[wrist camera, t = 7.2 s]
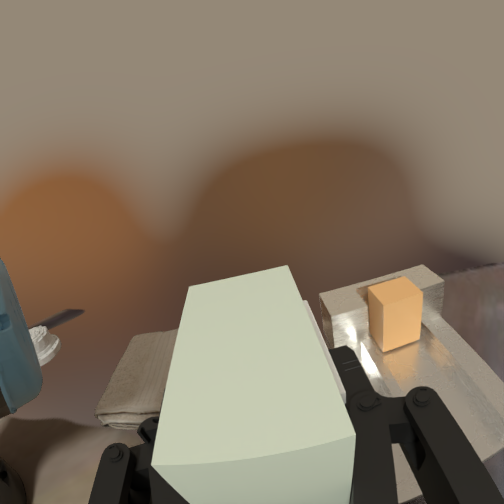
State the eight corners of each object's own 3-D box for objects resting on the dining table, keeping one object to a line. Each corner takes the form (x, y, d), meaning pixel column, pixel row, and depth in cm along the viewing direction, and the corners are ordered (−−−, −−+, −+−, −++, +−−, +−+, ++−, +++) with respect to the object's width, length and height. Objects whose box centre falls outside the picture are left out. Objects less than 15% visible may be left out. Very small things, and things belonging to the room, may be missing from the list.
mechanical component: (58, 334, 51) (21, 354, 45) (49, 315, 49) (10, 336, 44) (65, 354, 44) (22, 378, 38) (54, 333, 42) (9, 357, 36)
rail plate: (397, 507, 14) (411, 478, 12) (324, 333, 37) (318, 293, 35) (532, 427, 14) (558, 382, 12) (421, 303, 36) (422, 264, 34)
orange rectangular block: (383, 352, 29) (383, 305, 27) (369, 331, 33) (367, 287, 31) (419, 339, 29) (423, 292, 27) (403, 320, 33) (404, 276, 31)
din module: (248, 550, 9) (151, 465, 5) (240, 421, 17) (189, 286, 14) (344, 533, 9) (355, 434, 5) (310, 407, 17) (287, 265, 14)
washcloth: (99, 433, 27) (85, 416, 26) (137, 344, 44) (129, 328, 43) (195, 432, 26) (184, 414, 25) (209, 333, 43) (203, 315, 42)
